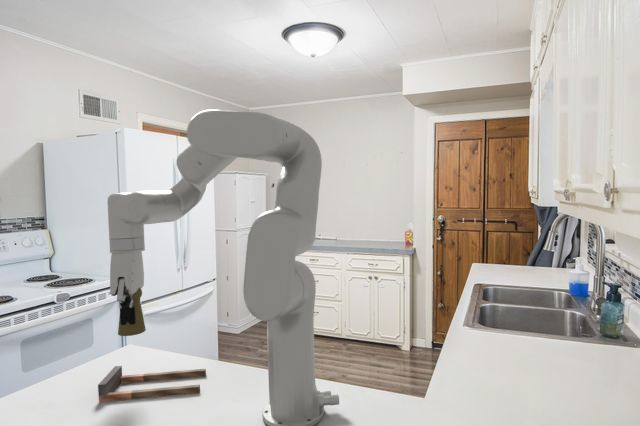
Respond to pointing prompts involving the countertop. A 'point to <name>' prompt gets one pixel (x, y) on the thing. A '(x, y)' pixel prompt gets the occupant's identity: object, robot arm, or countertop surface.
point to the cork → (139, 325)
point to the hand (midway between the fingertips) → (131, 321)
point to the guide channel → (115, 379)
